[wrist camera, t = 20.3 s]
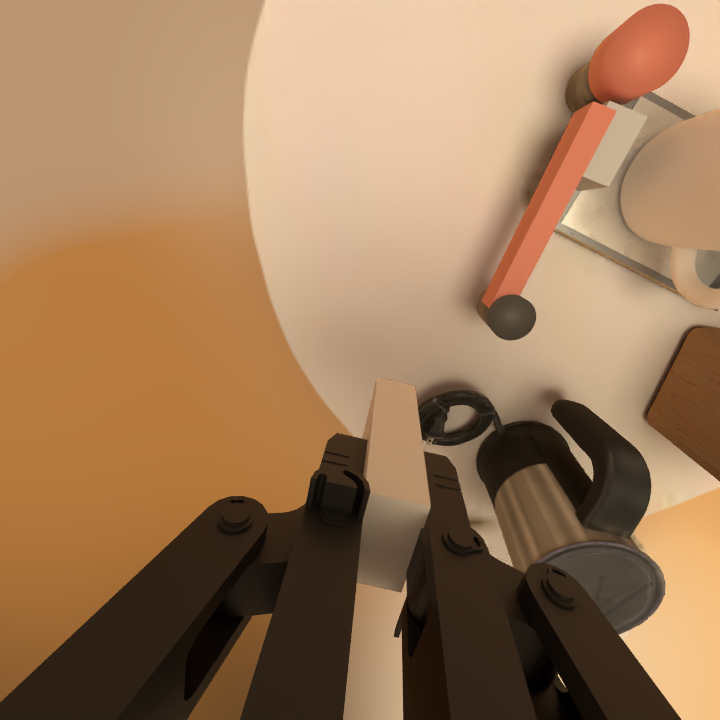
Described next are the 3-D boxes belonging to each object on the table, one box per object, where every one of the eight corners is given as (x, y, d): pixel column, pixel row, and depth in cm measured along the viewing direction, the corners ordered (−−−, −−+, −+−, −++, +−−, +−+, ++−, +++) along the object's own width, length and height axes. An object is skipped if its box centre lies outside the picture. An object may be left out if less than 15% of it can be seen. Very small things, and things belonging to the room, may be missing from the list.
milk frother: (562, 496, 40) (652, 645, 26) (412, 495, 41) (422, 635, 27) (581, 373, 35) (705, 477, 21) (410, 378, 36) (420, 476, 22)
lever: (506, 327, 31) (528, 348, 26) (462, 310, 31) (475, 328, 26) (651, 55, 24) (721, 10, 19) (595, 31, 24) (650, -20, 19)
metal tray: (702, 306, 32) (769, 326, 26) (501, 204, 30) (525, 200, 24) (807, 182, 28) (911, 173, 22) (582, 57, 26) (633, 14, 21)
